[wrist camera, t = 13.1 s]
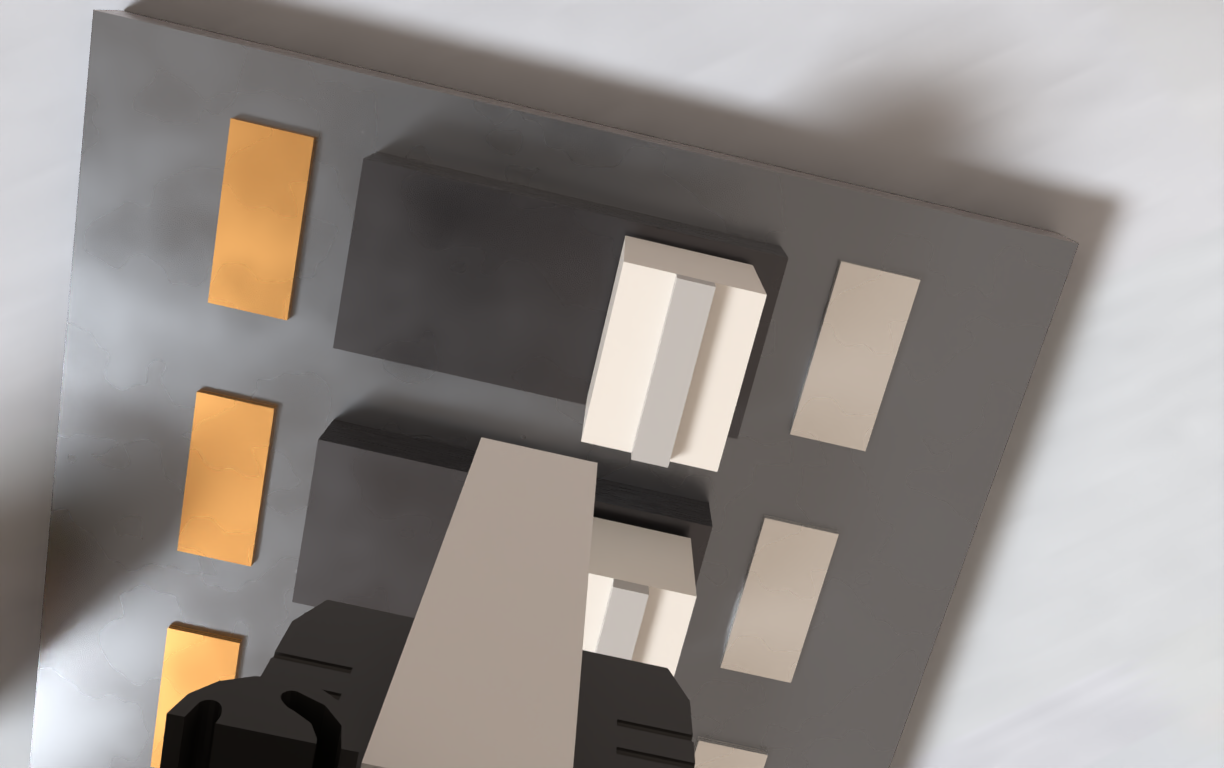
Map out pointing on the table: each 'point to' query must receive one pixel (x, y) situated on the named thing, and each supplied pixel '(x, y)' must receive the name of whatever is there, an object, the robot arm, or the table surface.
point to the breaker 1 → (672, 354)
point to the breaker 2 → (638, 593)
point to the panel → (492, 388)
